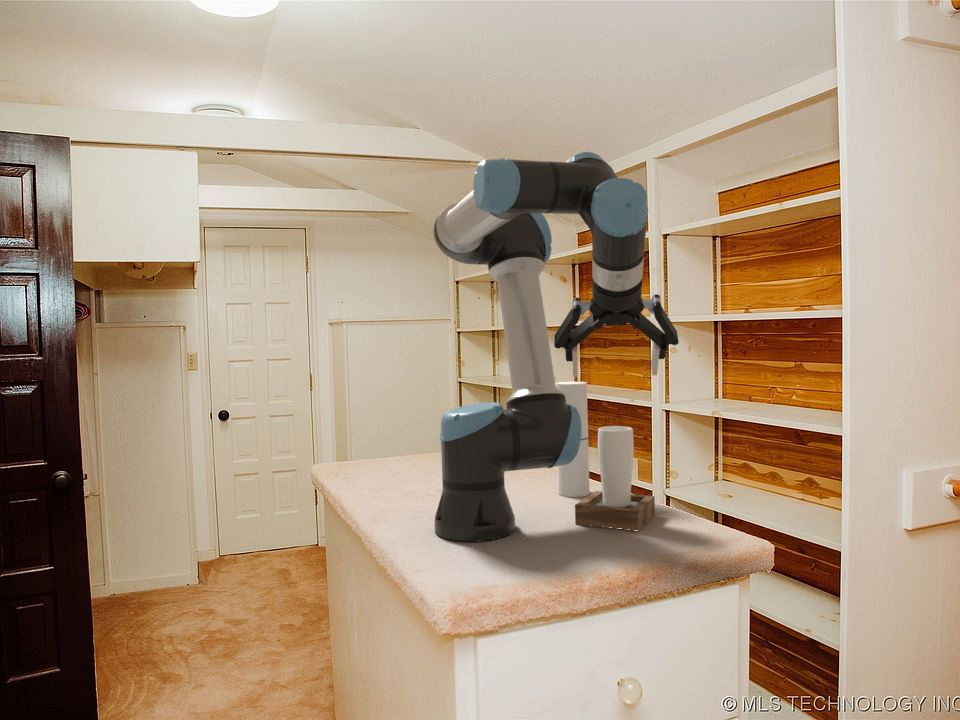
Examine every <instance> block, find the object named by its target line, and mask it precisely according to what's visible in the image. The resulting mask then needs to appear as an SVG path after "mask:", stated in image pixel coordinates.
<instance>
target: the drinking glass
mask: <svg viewBox="0 0 960 720" xmlns="http://www.w3.org/2000/svg"><path fill="white" fill-rule="evenodd" d="M634 442H635V441H634V429H633V428H632V427H629V426H625V425H624V426H623V425H622V426H621V425H608V426H601V427H599V428H598V429H597V453H598V461H599V473H600V483H601V491H602V494H603V504H604V505H605V506H611V507H621V508H626V507H628V506H630V504H631V494H632V480H633V478H632V477H633V467H634V466H633V465H634V464H633V463H634V451H635V449H634V448H635V445H634V444H635V443H634Z"/></svg>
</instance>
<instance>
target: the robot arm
mask: <svg viewBox="0 0 960 720" xmlns="http://www.w3.org/2000/svg"><path fill="white" fill-rule="evenodd" d="M472 188H473V190H472V191H471V192H469V194H467V195H466V196H465V197H464V198H463V199H462V200H461V201H460V202H458V203H457V202H456V203H453V204H450V205H448V206H447V207H445V208H444V209H443V210H441V212H440V213H439V214H438V215H437V217H436V218H435V221H434V224H433V232H432V233H433V237H434V241H435V243H436V245H437V247H438V248H439V249H440V251H441V252H442V253H443V254H444V255H445V256H446V257H449V258H450V259H451V260H453V261H456V262H458V263H461V264H464V265H465V264H466V265H467V264H468V265H485V266H486V265H487V269H488V274H489V275H488V276H489V277H490V278H491V279H493V280H494V281H495V282H497V286H498V295H499V300H500V301H499V304H500V311H501V317H502V325H503V330H504V331H503V332H504V340H505V347H506V354H507V363H508V371H509V377H510V384H511V385H510V386H511V391H512V393H511V395H509V397H508V399H507V400H506V402H505V404H506V409H504V407H503V405H502V404H501V403H500V402H497V401H496V402H494V401H493V402H491V401H490V402H483V403H473V404H468V405H462V406H459V407H455V408H452V409H450V410H448V411H446V412H444V413H443V415H442V417H441V419H440V435H439V440H440V451H441V453H440V454H441V475H442V476H441V477H442V480H441V481H442V490H441V496H440V499H439V503H438V506H437V509H436V512H435V513H436V514H435V516H434V520H433V521H434V533H435V534H436V535H437V536H438V537H441V538H443V539H446V538H447V539H446V540H450V539H452V540H451V541H456V540H460V541H459V542H478V541H477V540H485V541H489V540H488V539H492V540H494V539H493V538H497V539H499V538H498V537H501V538H504V537H506V536H505V535H507V536H509V535H511V534H512V533H514V532H515V529H516V516H515V514H514V511H513V508H512V505H511V502H510V499H509V496H508V494H507V491H506V488H505V485H506V484H505V473H506V472H511V471H512V472H513V471H522V470H523V471H524V470H533V469H534V470H535V469H545V468H547V469H552V468H554V467H557V466H562V465H567V464H569V463H570V462H572V461H573V460H574V458H575V457H576V455H577V453H578V450H579V447H580V443H581V436H582V425H581V418H580V415H579V413H578V410H577V409H576V407H574V406H572V405H569V404H567V405H566V399H565V394H564V393H563V392H561V391H560V390H559V389H557V387H556V385H555V383H556V381H555V373H554V367H553V360H552V353H551V348H550V339H549V334H548V328H547V326H548V325H547V320H546V314H545V309H544V301H543V295H542V289H541V281H540V275H541V274H542V272H543V271H544V270H545V266H546V265H545V264H546V263H547V262H549V259H550V258H551V254H552V243H553V242H552V241H553V240H552V233H551V229H550V225H549V223H548V221H547V219H546V217H545V215H544V214H558V215H559V214H560V215H562V214H563V215H565V214H566V215H573V214H574V215H578V216H580V218H581V219H582V220H583V222H584V224H586V226H587V227H588V229H589V231H590V232H591V239H592V242H591V243H592V245H591V246H592V249H591V250H592V251H591V252H592V254H591V255H592V256H591V259H592V263H591V264H592V266H591V267H592V268H591V269H592V271H591V273H592V274H591V275H592V280H591V281H592V296H591V297H592V298H591V299H590V301H581V298H579V297H574V298H573V299H572V305H571V306H572V307H571V309H570V310H569V312H568V313H567V315H566V316H565V318H564V320H563V321H562V323H561V325H560V326H559V327H558V329H557V331H556V332H555V334H554V340H553V341H554V344H553V345H554V348H555V349H561V348H563V349H564V350H565V351H564V352H565V360H566V362H572V374H573V375H572V376H573V378H578V348H577V346H578V345H579V344H581V342H582V341H584V340H585V339H586V338H588V336H590V335H591V334H592V333H593V332H594V331H598V330H600V329H601V328H602V327H603V326H604V325H606V327H612V326H627V325H628V324H629V325H631V326H632V327H633V328H634V329H635V330H639V331H640V332H641V333H643V334H644V335H645V336H646V337H647V338H649V339H650V341H652V353H651V361H650V362H651V363H650V364H651V365H650V366H651V373H652V376H658V372H659V371H658V369H659V360H664V359H665V358H666V354H667V351H668V346H669V345H673V346H678V344H679V342H680V341H679V336H678V330H677V329H676V327H675V326H674V324H673V323H672V321H671V320H670V317H669V316H668V314H667V313H666V311H665V310H664V308H663V307H662V302H661V295H659V294H657V293H656V294H653V295H652V297H651V298H649V299H643V298H642V293H643V292H642V291H643V275H644V259H645V246H646V235H647V223H648V217H649V207H648V193H647V190H646V188H645V187H644V186H643V185H642V184H641V183H640V182H634V180H632V179H630V178H625V177H623V178H622V177H618V176H617V174H616V173H615V171H614V169H613V168H612V167H611V165H609V163H607V162H606V160H604V159H603V158H602V157H601V155H599V154H597V153H595V152H591V151H582V152H580V153H578V154H576V155H573V156H571V157H570V158H568V160H567V161H565V162H564V161H543V160H541V161H540V160H526V159H524V160H523V159H510V158H505V157H501V158H496V159H493V158H492V159H491V158H490V159H484V160H482V161H480V162H479V163H478V165H477V167H476V171H475V173H474V175H473V187H472ZM644 309H647V311H648V312H649V313H650V314H651V315H653V317H654V318H655V321H656V322H657V324H658V325H659V327H660V328H661V329H660V328H659V327H657V326H656V325H655V324H654V323H653V322H652V321H651V320H649V319H648V317H646V316H645V315H644V314H642V313H643V310H644ZM588 311H589V312H590V313H589V316H587V318H586V319H584V320H583V321H582V322H581V323H580V324H579V325H577V324H578V322H579V320H580V317H583V316H584V314H585V313H586V312H588ZM576 325H577V326H576ZM510 533H511V534H510ZM508 534H509V535H508ZM503 536H504V537H503Z"/></svg>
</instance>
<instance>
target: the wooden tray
mask: <svg viewBox="0 0 960 720" xmlns="http://www.w3.org/2000/svg"><path fill="white" fill-rule="evenodd" d="M655 501H656V500H655V496H654V495H647V494H634V493H631V504H630V506H628V507H626V508H621V507H611V506H605V505H604V504H603V494H602V490H601V491H600V490H595V491H594V492H592V493H589V495H587V496H585V498H583V499H582V500H580V501H579V502H577V503H576V504H574V513H575V515H574V516H575V517H574V519H575V520H574V521H575V525H578V524H580V525H581V526H586V525H592V526H591V527H594V526H604V527H612V528H622V529H630V530H639V529H640V528H641V527H642V526H643V525H644V524H645V523H646V522H647V521H648V520H649V519H650V520H651V519H652V518H653V517H654V516H655V514H656V512H655V511H656V510H655V505H656V504H655ZM650 520H649V521H650ZM649 521H648V522H649ZM648 522H647V523H648ZM647 523H646V524H647ZM646 524H645V525H646ZM580 525H579V526H580ZM645 525H644V526H645ZM644 526H643V527H644ZM643 527H642V528H643ZM642 528H641V529H642ZM641 529H640V530H641ZM640 530H639V531H640Z"/></svg>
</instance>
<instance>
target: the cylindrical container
mask: <svg viewBox="0 0 960 720" xmlns="http://www.w3.org/2000/svg"><path fill="white" fill-rule="evenodd" d="M555 385H556V387H557V389H559V390H560V391H561V392H563V393H564V394H565V399H566V405H567V404H569V405H572V406H574V407H576V409H577V410H578V413H579V415H580V418H581V425H582V436H581V443H580V447H579V450H578V453H577V455H576V457H575V458H574V460H573V461H572V462H570V463H569V464H567V465H562V466H556V478H557V479H556V481H557V483H556V484H557V494H558V495H559V496H562V497H565V498H566V497H567V498H582V497H587V496H589V495H590V494H591V493H590V462H589V461H590V460H589V459H590V458H589V455H590V454H589V452H590V451H589V423H588V422H589V420H588V419H589V416H588V413H589V412H588V382H586V381H559V382H555Z"/></svg>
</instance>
